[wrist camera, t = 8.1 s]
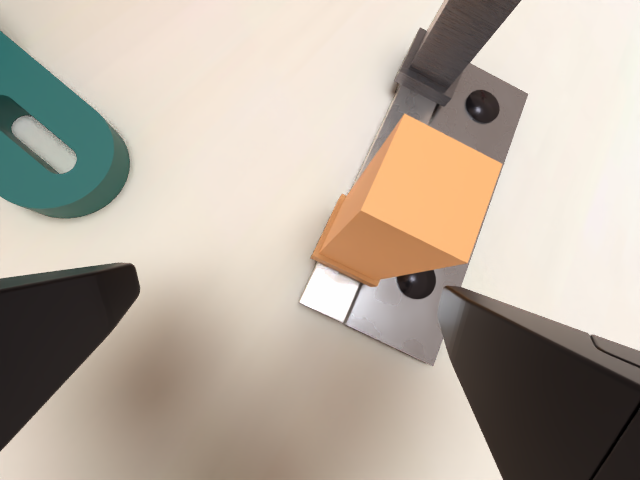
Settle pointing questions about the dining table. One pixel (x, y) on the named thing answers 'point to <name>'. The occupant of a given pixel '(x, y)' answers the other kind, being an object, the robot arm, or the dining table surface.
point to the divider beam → (417, 108)
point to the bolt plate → (426, 287)
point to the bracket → (68, 125)
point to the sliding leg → (410, 207)
